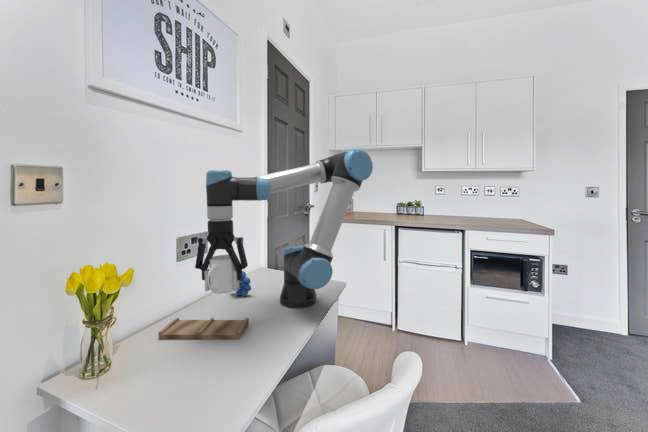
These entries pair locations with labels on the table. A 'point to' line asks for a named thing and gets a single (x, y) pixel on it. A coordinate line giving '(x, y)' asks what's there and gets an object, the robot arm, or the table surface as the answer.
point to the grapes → (244, 285)
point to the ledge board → (204, 329)
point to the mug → (221, 274)
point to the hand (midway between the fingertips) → (222, 289)
